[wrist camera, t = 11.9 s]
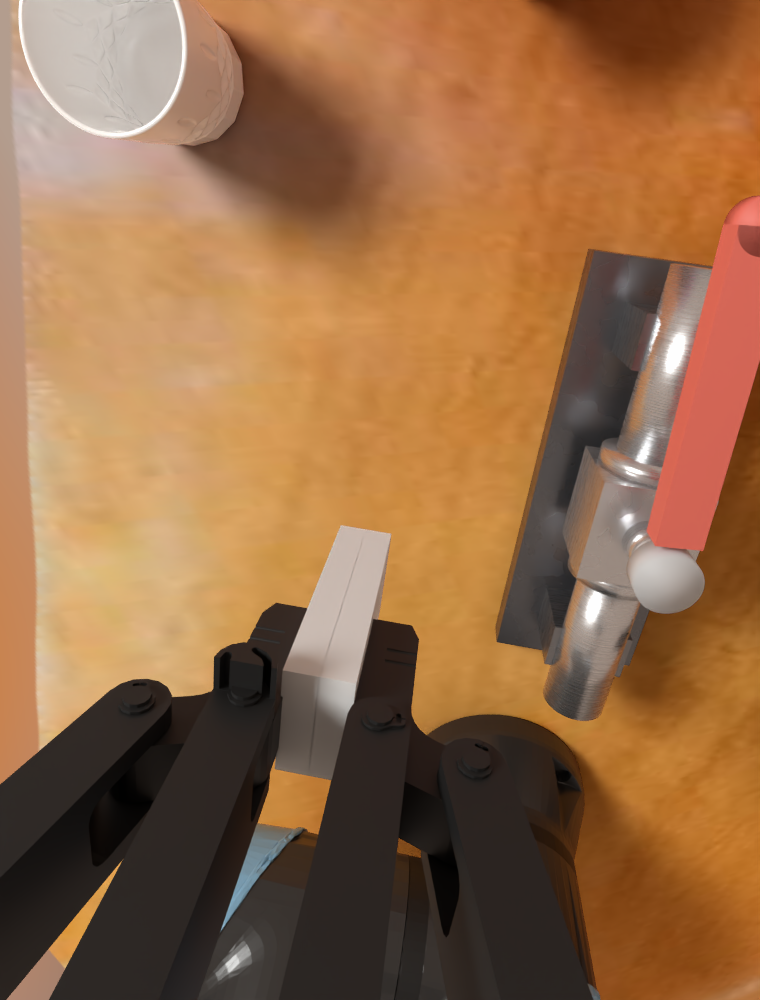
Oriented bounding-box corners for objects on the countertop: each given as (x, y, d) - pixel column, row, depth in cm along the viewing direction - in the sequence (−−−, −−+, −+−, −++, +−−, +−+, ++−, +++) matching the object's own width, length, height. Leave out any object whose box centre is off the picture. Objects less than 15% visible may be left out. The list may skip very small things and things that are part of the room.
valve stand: (623, 649, 50) (669, 777, 38) (495, 626, 50) (504, 745, 39) (756, 272, 38) (880, 296, 27) (588, 248, 39) (639, 262, 27)
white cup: (230, -21, 35) (150, -103, 26) (270, 137, 38) (210, 113, 29) (105, 21, 37) (-12, -42, 28) (152, 170, 40) (60, 157, 31)
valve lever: (684, 597, 33) (695, 617, 31) (620, 590, 33) (628, 609, 32) (800, 198, 25) (824, 196, 24) (717, 193, 26) (734, 192, 24)
